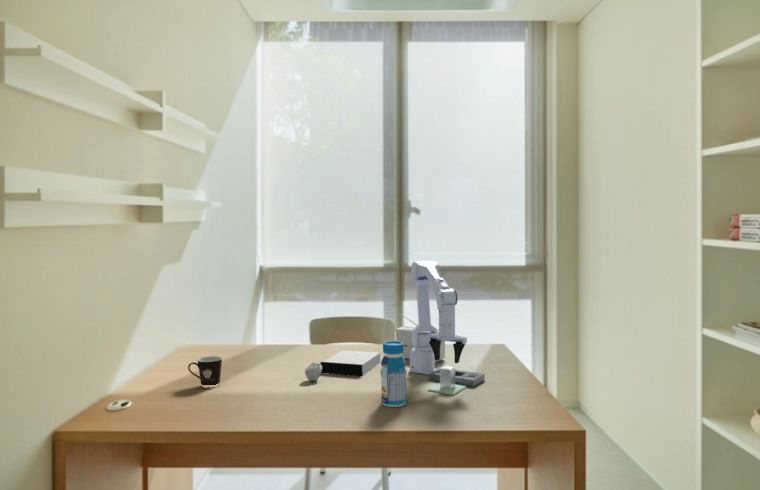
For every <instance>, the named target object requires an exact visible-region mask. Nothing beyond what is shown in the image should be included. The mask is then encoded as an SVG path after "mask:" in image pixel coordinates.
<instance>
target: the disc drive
mask: <svg viewBox="0 0 760 490" xmlns="http://www.w3.org/2000/svg"><path fill="white" fill-rule="evenodd" d="M319 363H320V364H321V365H322V371H321V374H324V373H329V374H328V375H336V374H340V375H339V376H348V375H350V376H351V377H360V376H362V377H363V376H365V375H366V374H367V373H369V372H370V371H371V370H372V368H373V369H374V368H375V367H377V366H378V365H379V364H381V352H377V351H376V352H375V351H374V352H373V351H360V350H358V351H355V350H345V349H344V350H340V351H339V352H338V353H336V354H333V355H332V356H330V357H329V358H327V359H325V360H323V361H321V362H319ZM376 365H377V366H376ZM368 371H369V372H368Z"/></svg>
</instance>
